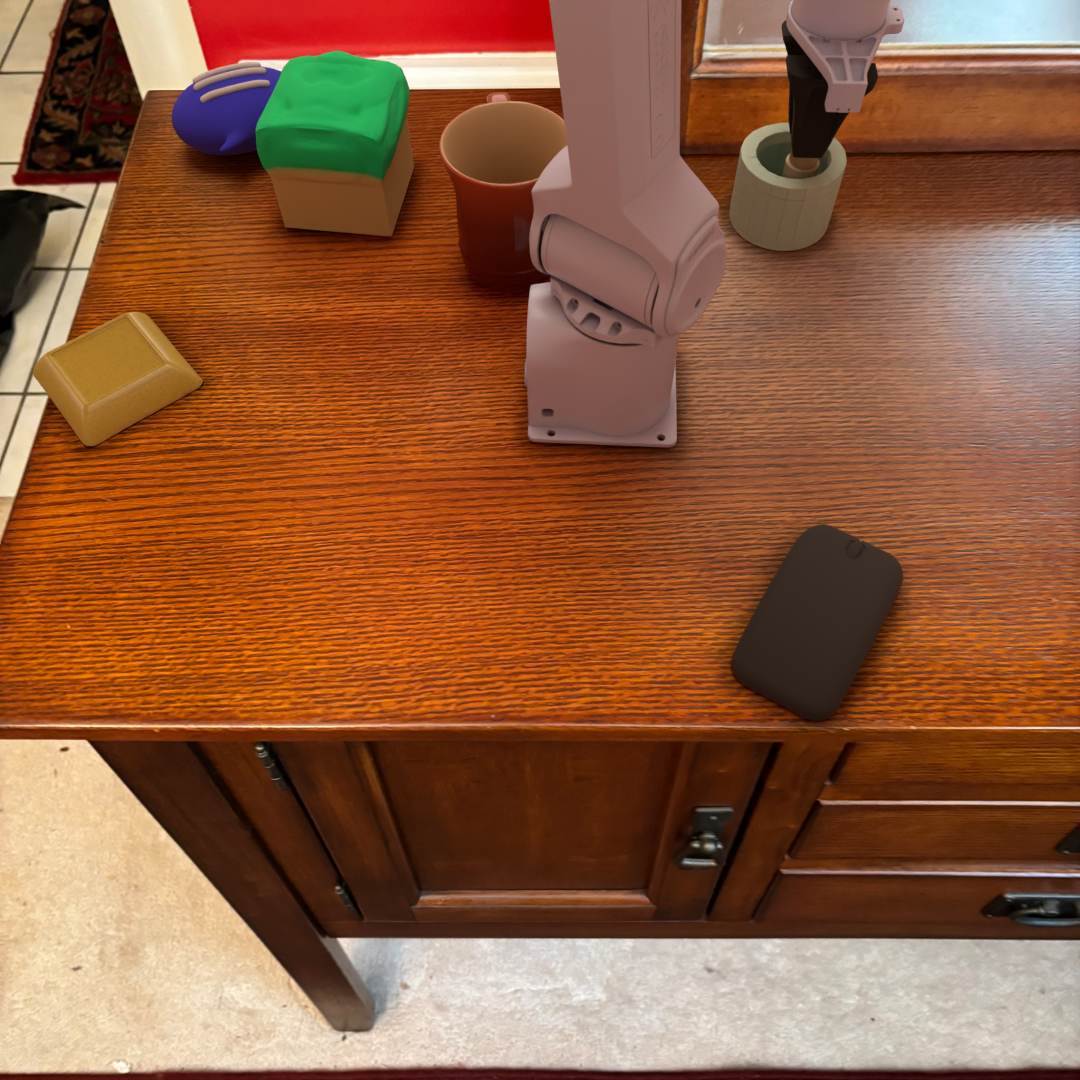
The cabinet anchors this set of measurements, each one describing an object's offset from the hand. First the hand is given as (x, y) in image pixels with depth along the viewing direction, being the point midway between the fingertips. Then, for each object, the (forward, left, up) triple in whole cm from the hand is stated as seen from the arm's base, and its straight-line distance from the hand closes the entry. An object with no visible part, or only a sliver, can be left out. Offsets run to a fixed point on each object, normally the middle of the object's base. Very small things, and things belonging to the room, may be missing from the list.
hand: (805, 143), depth 68 cm
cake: (-33, +1, -6) cm, 34 cm away
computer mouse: (-1, -35, -6) cm, 35 cm away
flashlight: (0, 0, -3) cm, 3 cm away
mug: (-21, -5, -7) cm, 22 cm away
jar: (-1, 0, -6) cm, 6 cm away
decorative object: (-41, +2, -2) cm, 41 cm away
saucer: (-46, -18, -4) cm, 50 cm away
